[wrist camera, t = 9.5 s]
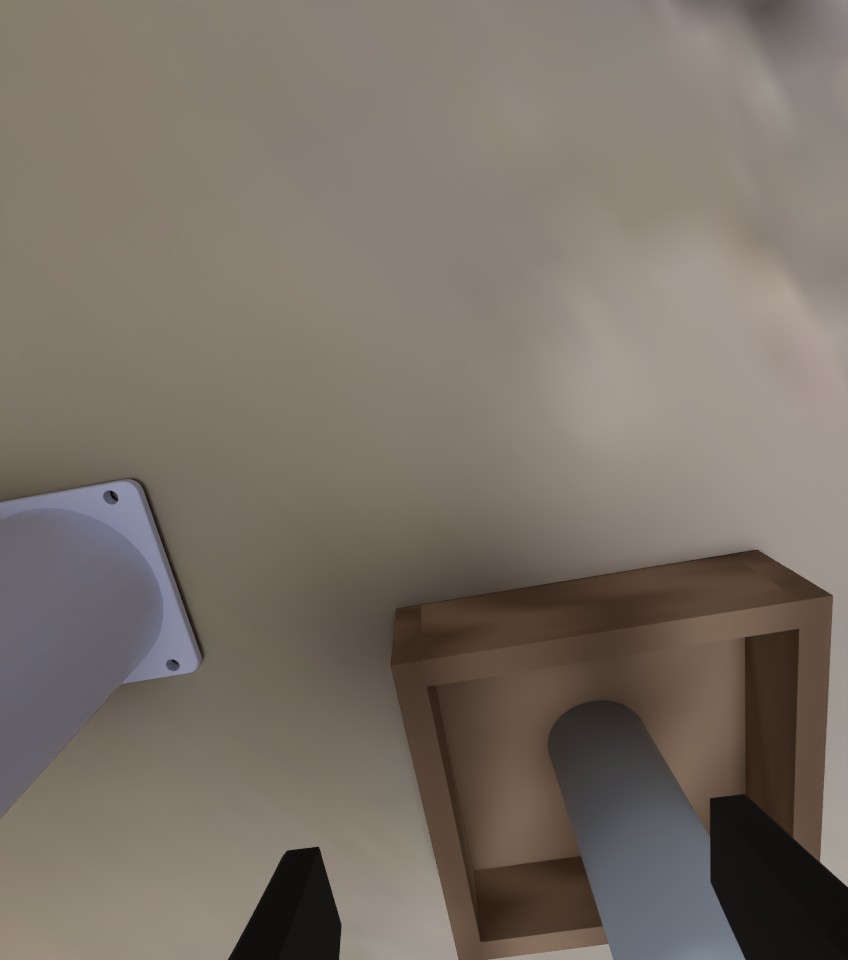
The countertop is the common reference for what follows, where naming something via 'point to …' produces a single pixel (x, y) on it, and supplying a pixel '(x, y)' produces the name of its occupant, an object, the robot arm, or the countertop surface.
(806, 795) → the open box
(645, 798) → the peg
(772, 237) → the countertop surface
